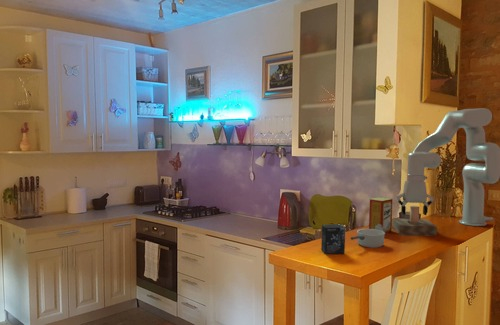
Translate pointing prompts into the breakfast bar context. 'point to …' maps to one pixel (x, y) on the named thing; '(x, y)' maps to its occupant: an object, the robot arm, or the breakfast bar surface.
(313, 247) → the breakfast bar surface
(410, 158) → the robot arm
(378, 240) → the saucepan
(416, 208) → the peg
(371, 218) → the baking soda box
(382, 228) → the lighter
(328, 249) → the box
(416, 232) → the socket block
